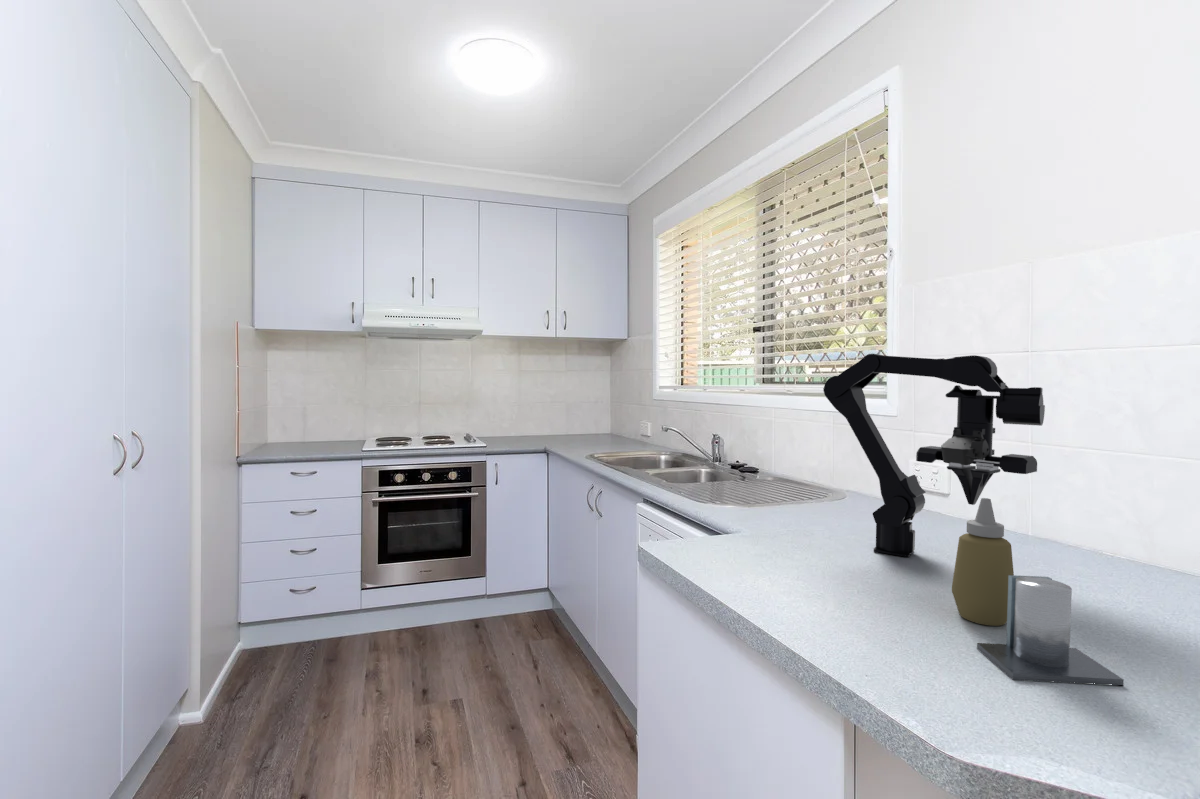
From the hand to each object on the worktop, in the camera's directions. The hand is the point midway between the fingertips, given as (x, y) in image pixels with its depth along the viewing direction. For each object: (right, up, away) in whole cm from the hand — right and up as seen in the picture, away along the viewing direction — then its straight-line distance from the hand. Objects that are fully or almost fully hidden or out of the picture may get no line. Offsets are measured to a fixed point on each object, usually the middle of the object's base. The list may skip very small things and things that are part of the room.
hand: (971, 504), depth 111 cm
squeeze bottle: (-14, -13, -24) cm, 30 cm away
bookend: (-15, -13, -38) cm, 43 cm away
